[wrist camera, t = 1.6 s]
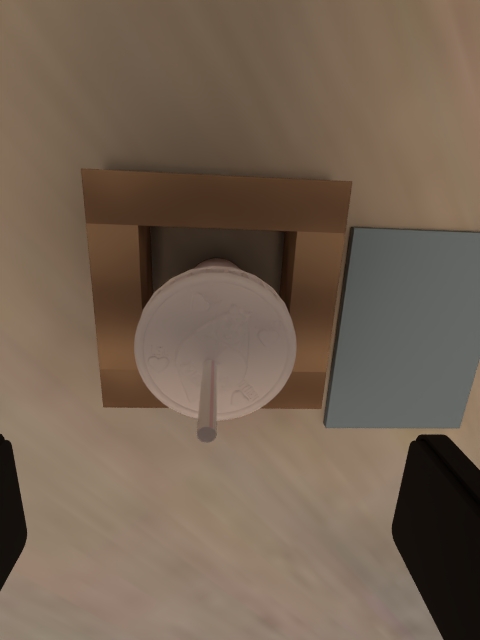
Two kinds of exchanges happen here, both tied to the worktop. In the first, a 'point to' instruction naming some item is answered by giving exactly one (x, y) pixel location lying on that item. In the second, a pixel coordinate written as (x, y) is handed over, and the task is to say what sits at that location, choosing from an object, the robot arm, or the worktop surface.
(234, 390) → the smoothie
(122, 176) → the wooden square frame
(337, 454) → the worktop surface
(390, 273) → the mat
